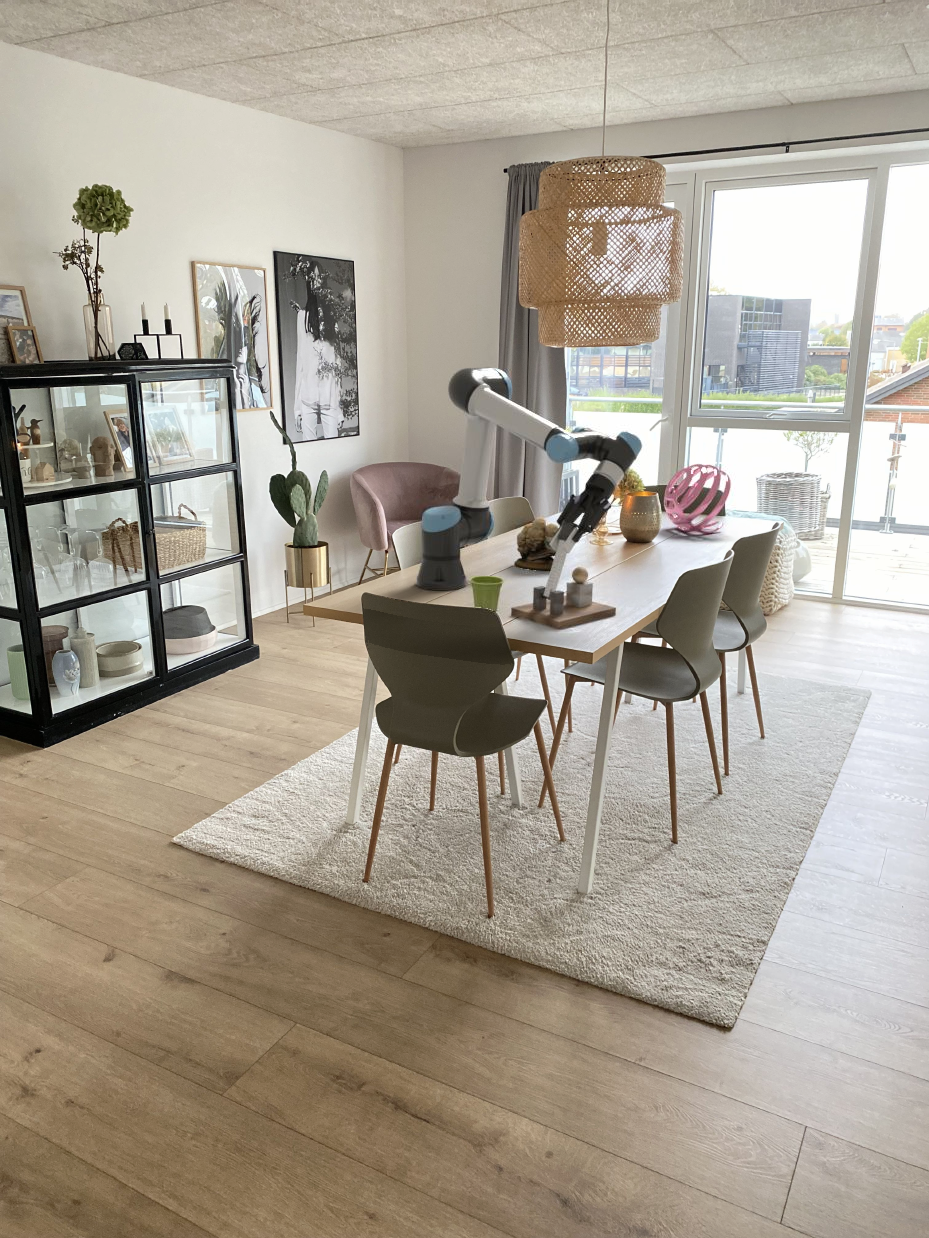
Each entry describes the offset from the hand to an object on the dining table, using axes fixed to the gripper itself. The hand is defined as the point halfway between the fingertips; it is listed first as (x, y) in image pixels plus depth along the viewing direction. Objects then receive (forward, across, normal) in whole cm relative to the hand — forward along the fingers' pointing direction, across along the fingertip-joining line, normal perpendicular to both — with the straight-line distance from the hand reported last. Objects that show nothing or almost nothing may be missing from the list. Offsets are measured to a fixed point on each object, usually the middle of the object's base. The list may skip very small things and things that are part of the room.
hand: (559, 548), depth 250 cm
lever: (+11, 0, -6) cm, 13 cm away
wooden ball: (+1, 0, -14) cm, 14 cm away
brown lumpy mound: (-15, +47, -41) cm, 64 cm away
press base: (+11, 0, -15) cm, 19 cm away
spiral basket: (-82, +56, -107) cm, 146 cm away
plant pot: (+21, +17, -6) cm, 27 cm away
